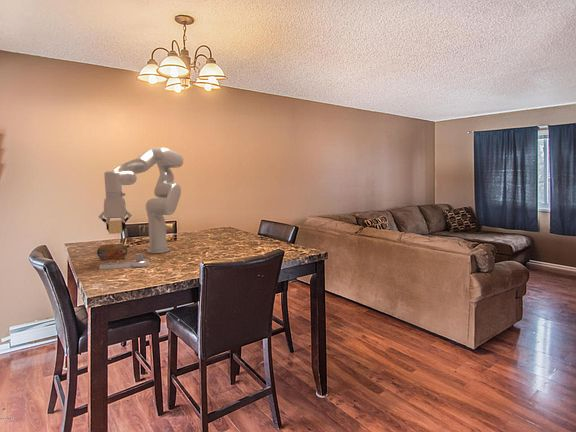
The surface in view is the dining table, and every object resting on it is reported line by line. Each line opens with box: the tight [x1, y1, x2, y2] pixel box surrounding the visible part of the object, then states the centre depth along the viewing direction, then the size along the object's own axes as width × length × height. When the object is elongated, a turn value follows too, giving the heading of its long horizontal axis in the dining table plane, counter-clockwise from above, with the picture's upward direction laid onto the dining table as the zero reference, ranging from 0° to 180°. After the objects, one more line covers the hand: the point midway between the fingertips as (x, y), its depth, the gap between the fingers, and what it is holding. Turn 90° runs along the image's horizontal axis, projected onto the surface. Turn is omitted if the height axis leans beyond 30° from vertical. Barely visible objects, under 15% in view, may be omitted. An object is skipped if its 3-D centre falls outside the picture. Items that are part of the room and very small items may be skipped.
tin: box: [96, 243, 128, 261], centre depth 197 cm, size 15×3×8 cm, turn 101°
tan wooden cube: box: [108, 219, 125, 235], centre depth 185 cm, size 6×6×6 cm
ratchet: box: [98, 252, 150, 271], centre depth 181 cm, size 9×22×6 cm, turn 108°
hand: (116, 230), depth 185 cm, fingers closed on tan wooden cube, 6 cm apart
